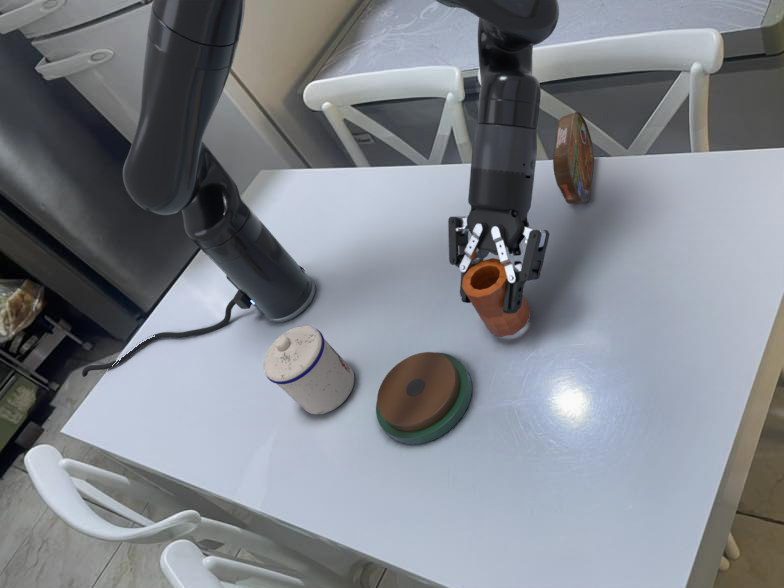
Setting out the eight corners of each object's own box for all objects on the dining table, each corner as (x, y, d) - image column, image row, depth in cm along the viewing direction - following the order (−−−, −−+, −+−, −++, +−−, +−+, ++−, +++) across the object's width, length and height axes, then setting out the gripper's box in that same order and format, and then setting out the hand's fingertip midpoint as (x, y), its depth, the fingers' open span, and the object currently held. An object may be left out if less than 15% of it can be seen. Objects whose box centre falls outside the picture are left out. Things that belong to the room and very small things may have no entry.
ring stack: (366, 440, 90) (354, 428, 88) (402, 357, 97) (391, 344, 95) (453, 449, 84) (442, 436, 82) (484, 360, 91) (475, 346, 88)
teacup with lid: (368, 370, 98) (322, 318, 89) (332, 424, 95) (281, 376, 86) (312, 353, 105) (264, 304, 96) (277, 403, 101) (224, 357, 93)
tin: (588, 213, 99) (570, 168, 93) (566, 217, 100) (548, 172, 94) (595, 144, 107) (580, 98, 101) (575, 149, 108) (559, 103, 102)
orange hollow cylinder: (478, 330, 92) (453, 291, 86) (501, 295, 94) (478, 255, 88) (515, 341, 88) (491, 300, 82) (538, 304, 90) (516, 262, 84)
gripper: (436, 161, 84) (426, 299, 88) (534, 171, 75) (517, 323, 80) (476, 164, 90) (464, 294, 94) (571, 174, 81) (554, 316, 86)
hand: (489, 306), depth 87 cm, fingers closed on orange hollow cylinder, 6 cm apart
